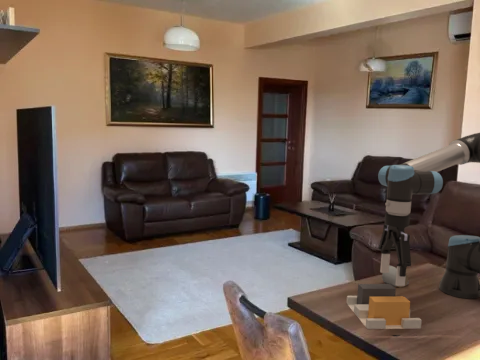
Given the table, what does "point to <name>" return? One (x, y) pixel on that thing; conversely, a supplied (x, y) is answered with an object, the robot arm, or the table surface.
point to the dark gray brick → (373, 291)
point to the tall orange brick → (389, 308)
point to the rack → (379, 323)
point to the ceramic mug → (392, 277)
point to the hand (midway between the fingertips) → (391, 278)
